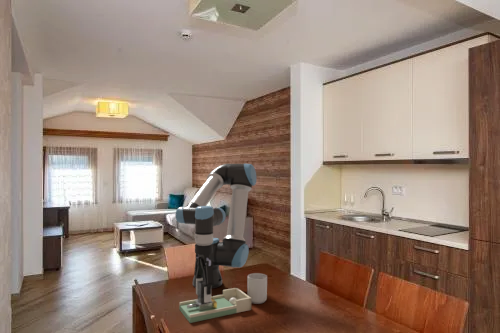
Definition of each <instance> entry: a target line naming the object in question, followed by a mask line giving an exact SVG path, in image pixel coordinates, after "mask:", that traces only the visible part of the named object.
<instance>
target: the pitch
mask: <svg viewBox="0 0 500 333" xmlns="http://www.w3.org/2000/svg"><path fill="white" fill-rule="evenodd" d="M211 297H212V298H213V299H214V300H215V301H216V302H217V308H210V309H205V310H200V311H199V310H198V309H197V307H194V308H189V309H187V305H191V304H194V300H197V299H198V298H196V299H191V300H185V301H179V303H178V304H179V307H178V308H179V311H180V312H181V314H182V315H183V316H184V318H185V319H186V320H187V322H189V324H192V323H197V322H200V321H205V320H210V319H216V318H219V317H224V316H229V315H233V314H238V313H241V312H246V311H251V310H252V303H251V297H249V296H248V295H247V294H246V293H245V292H244V291H242V290H241V289H240V288H238V287H233V288H232V287H231V288H228V289H223V290H222V294H217V295H213V296H212V295H211ZM233 297H234V298H236V299H237V300H236V305H234V306H233V305H232V304H231V303H230V302H229V300H230V299H231V298H233Z"/></svg>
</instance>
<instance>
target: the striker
mask: <svg viewBox="0 0 500 333" xmlns="http://www.w3.org/2000/svg"><path fill="white" fill-rule="evenodd" d="M204 285H205V280H202V281H198V294H197V298H196V299H197V300H195V299H193V300H194V304H191V305H187V309H189V308H194V307H197V309H198V310H199V311H200V310H205V309H210V308H217V302H216V301H215V300H214V299H213V298H212V296H211V302H206V303H205V302H204Z"/></svg>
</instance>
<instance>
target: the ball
mask: <svg viewBox="0 0 500 333" xmlns="http://www.w3.org/2000/svg"><path fill="white" fill-rule="evenodd" d="M236 300H237V299H236V298H234V297H233V298H231V299H230V300H229V302H230V303H231V304H232V305H233V306H234V305H236Z"/></svg>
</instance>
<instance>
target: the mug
mask: <svg viewBox="0 0 500 333" xmlns="http://www.w3.org/2000/svg"><path fill="white" fill-rule="evenodd" d="M246 282H247V286H246V288H247V290H246V291H247V292H246V293H247V295H248V296H249V297H251V304H256V305H257V304H258V305H260V304H263V303H265V302H266V301H267V299H268V293H267V292H268V275H267V274H265V273H260V272H253V273H249V274H248V275H247V281H246Z"/></svg>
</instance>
